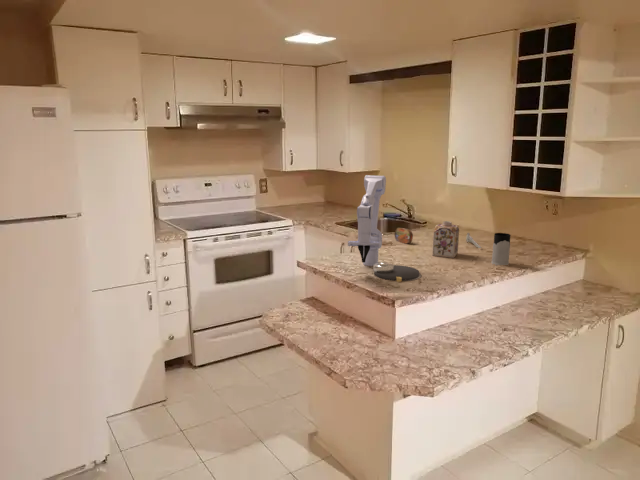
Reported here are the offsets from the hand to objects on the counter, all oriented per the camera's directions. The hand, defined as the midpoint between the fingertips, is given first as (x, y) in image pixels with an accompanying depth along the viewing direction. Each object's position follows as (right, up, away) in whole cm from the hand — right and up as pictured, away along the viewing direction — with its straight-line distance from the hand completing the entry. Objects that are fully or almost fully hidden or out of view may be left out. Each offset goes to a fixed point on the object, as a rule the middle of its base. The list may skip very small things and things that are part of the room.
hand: (363, 261), depth 222 cm
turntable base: (+15, -7, +1) cm, 16 cm away
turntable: (+15, -6, 0) cm, 16 cm away
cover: (+9, -4, 0) cm, 10 cm away
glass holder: (+71, -2, +28) cm, 76 cm away
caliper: (+70, +6, +65) cm, 96 cm away
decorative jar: (+48, +2, +43) cm, 64 cm away
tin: (+30, +8, +73) cm, 80 cm away
